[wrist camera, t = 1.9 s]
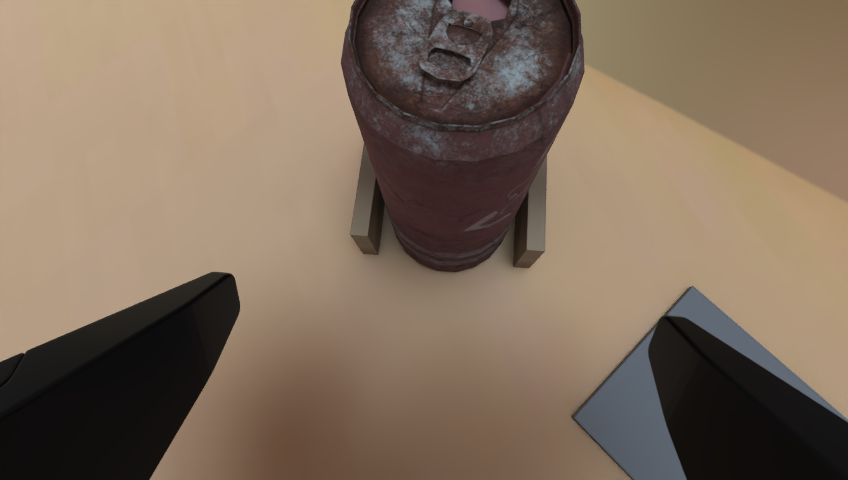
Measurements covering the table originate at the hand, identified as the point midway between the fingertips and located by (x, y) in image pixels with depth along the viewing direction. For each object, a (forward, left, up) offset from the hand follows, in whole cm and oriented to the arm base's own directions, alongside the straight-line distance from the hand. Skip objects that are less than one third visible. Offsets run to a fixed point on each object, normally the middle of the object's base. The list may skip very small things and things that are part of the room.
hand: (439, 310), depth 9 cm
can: (+5, +4, -13) cm, 15 cm away
